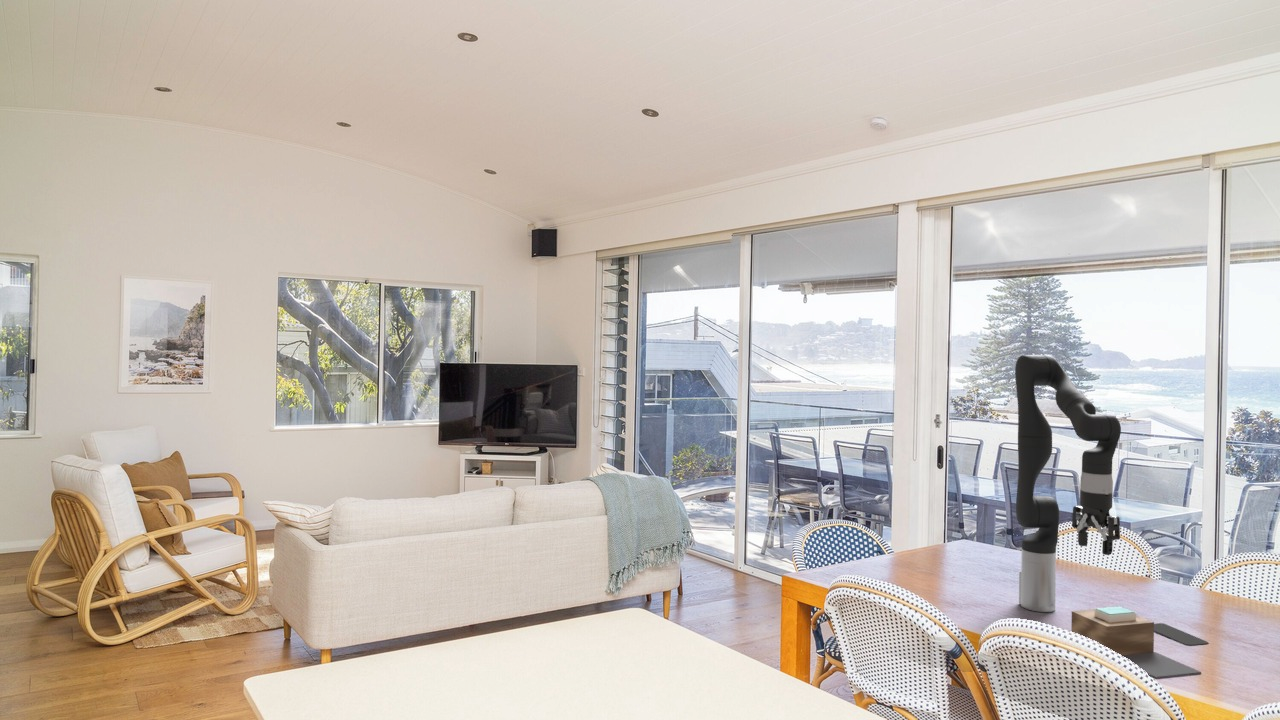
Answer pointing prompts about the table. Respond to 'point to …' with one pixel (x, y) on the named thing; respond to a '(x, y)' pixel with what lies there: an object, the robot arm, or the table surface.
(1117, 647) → the brown wooden block
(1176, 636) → the smartphone
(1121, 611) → the card box
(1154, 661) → the rubber mat
